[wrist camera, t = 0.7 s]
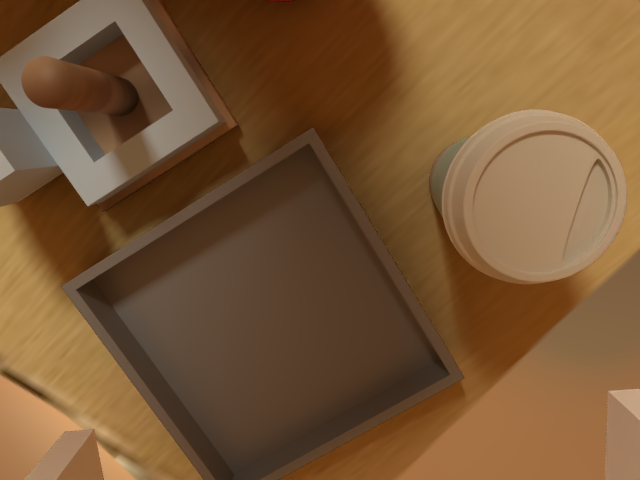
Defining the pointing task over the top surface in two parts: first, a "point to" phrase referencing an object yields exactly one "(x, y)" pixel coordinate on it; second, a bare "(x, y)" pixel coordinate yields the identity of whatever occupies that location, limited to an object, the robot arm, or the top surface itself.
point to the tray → (266, 320)
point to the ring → (67, 127)
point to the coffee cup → (530, 196)
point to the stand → (118, 97)
